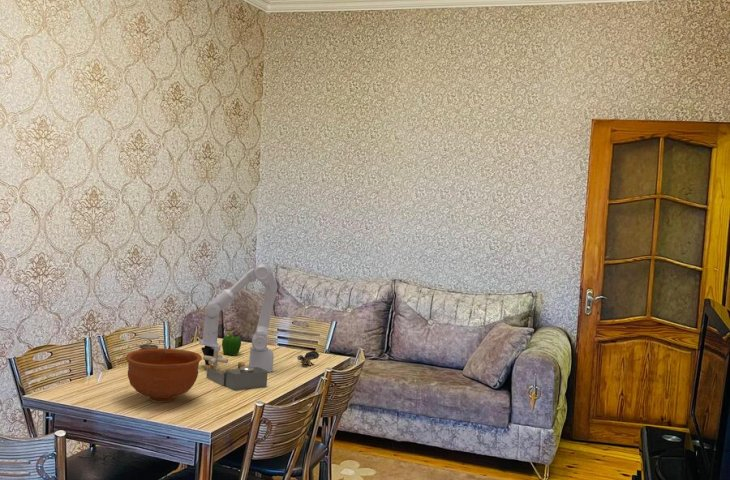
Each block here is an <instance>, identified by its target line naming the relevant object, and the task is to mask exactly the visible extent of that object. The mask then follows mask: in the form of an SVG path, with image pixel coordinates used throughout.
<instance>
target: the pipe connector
mask: <svg viewBox="0 0 730 480" xmlns="http://www.w3.org/2000/svg"><path fill="white" fill-rule="evenodd" d="M219 353H220V352H219V351H215V348H214V357H212V356H206V355H204V354H203V355H202V356H203V357H202V360H203V361H205V360H209V364H210V365H213V366H214V369H216V370H218V363H220V364H221V363H222V364H228V363H229V359H228V358H223V355H222V354H219Z"/></svg>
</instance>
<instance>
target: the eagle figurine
mask: <svg viewBox="0 0 730 480" xmlns="http://www.w3.org/2000/svg"><path fill="white" fill-rule="evenodd" d="M296 358H297V361H299V363H300V364H301V367H302V366H303V367H304V366H305V365H308V366H310V365H311V366H312V364H311V363H313V362H312V360H317V359H319V358H320V353H319V352H318V351H315V350H312V351H308V352H306V353H305V355H304V356H303V354H298V355H297V357H296Z"/></svg>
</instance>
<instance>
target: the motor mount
mask: <svg viewBox="0 0 730 480" xmlns="http://www.w3.org/2000/svg"><path fill="white" fill-rule="evenodd" d="M268 373H269V372H268V371H266V370H264V369H262V368H259V367H249V365H247V366H246V363H244V362H242V361H239V362H238V364H237V368H235V369H234V368H233V369H225V371H220V370H218V369H217V370H216V369H214V366H213V364H212V365H207V367H206V379H208V380H210V381H213V382H214V383H216V384H218V385H220V386H222V387H226V388H228V389H230V390H232V391H243V390H250V389H258V388H266V387H268V386H267V385H268V375H269V374H268Z"/></svg>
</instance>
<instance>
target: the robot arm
mask: <svg viewBox="0 0 730 480" xmlns="http://www.w3.org/2000/svg"><path fill="white" fill-rule="evenodd" d="M257 280H258V281H259V282H260V283H261V284H262V285H263V287H264V288H265V292H264V295H263V296H264V297H263V300H262V306H261V309H260V314H259V319H258V322H257V326H256V329H255V331H254V334H252V337H251V347H250V350H249V360H248V361H249V362H248V366H249V367H259V368H262V369H264V370H266V371H268V373H271V371H272V372H274V371H275V370H274V369H273V368H274V358H275V355H274V352H273V351H274V350H272V349H271V348H269V347H267V346H268V332H269V326H270V321H271V318H272V313H273V308H274V304H275V300H276V296H277V291H278V283H277V281H276V278H275V276H274V273H273V270H272V269H271V268H270V267H269V265H267V264H266V263H263V262H261V263H258V264H256V266H255V267H252V268H251V269H249V270H247V272H246V273H244V275H243V276H241V277H240V279H238V281H237V282H235V283H234V284H233V285H232V286H231V287H230V288H224V289H221V290H220V291H219V294H217V296H216V297H214V298H212V299H211V300H210V302H209V303H208V304H207V305H206V306H205V308H204V314H205V315H204V321H203V323H204V324H203V335H202V339H201V338H200V339H199V345H201V346H202V347H201V349H200V350H201V351H202V354H203V356H204V355H206V356H212V357H214V348H215V351H221V345H220V344H219V343H218V336H219V316H220V312H221V311H223V310H224V309H226V308H227V307H228V306H229V305H230V304H231V303H232V302H234V300H235V296H236V294H237V293H239V292H240V291H241V290H242V289H243V288H244V287H245V286H247V285H248V284H249V283H253V282H256V281H257ZM203 346H204V347H203ZM204 365H205V366H208V365H210V364H209V360H204Z"/></svg>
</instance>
